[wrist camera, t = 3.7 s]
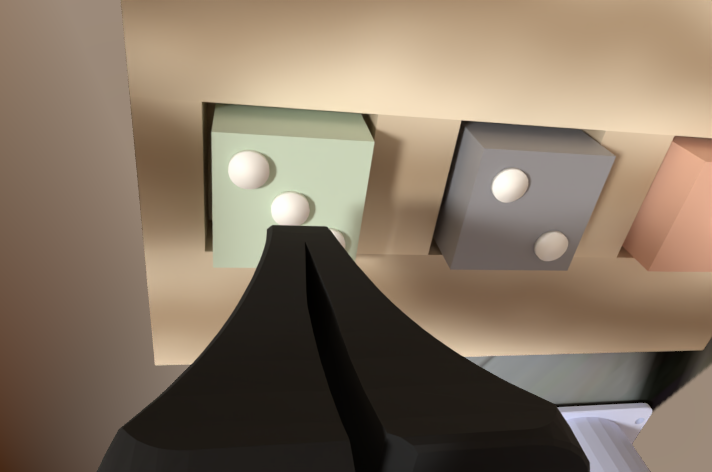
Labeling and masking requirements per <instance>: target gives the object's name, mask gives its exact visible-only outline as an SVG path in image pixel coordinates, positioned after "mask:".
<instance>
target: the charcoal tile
mask: <svg viewBox="0 0 712 472" xmlns="http://www.w3.org/2000/svg"><path fill="white" fill-rule="evenodd" d="M615 158H616V156H615V155H614V154H612V153H611V152H610V151H608V150H607V149H606V148H604V147H603V146H602V145H600V144H599V143H598V142H596V141H595V140H594V139H592V138H591V137H590V136H588V135H587V134H586V133H584V132H583V131H582V130H580V129H570V128H556V127H542V126H528V125H514V124H500V123H486V122H472V121H461V125H460V129H459V133H458V137H457V141H456V145H455V149H454V153H453V157H452V161H451V165H450V169H449V173H448V177H447V181H446V185H445V189H444V193H443V197H442V201H441V205H440V209H439V213H438V217H437V221H436V225H435V229H434V233H433V237H434V239H435V241H436V243H437V245H438V247H439V249H440V251H441V253H442V255H443V257H444V259H445V261H446V262H447V264H448V266H449V268H450V270H547V271H568V268H569V266H570V264H571V261H572V259H573V256H574V254H575V252H576V249H577V247H578V245H579V242H580V240H581V238H582V235H583V233H584V231H585V228H586V226H587V224H588V221H589V219H590V217H591V214H592V212H593V210H594V207H595V205H596V202H597V200H598V198H599V195H600V193H601V191H602V188H603V186H604V184H605V181H606V179H607V177H608V174H609V172H610V170H611V167H612V165H613V163H614V160H615Z"/></svg>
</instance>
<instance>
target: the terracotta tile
mask: <svg viewBox="0 0 712 472" xmlns="http://www.w3.org/2000/svg"><path fill="white" fill-rule="evenodd" d="M622 246H623V247H624V248H625V249H626V250H627V251H628V252H629V253H630V254H631V255H632V256H633V257H634V258H635V259H636V260H637V261H638V262H639V263H640V264H641V265H642V266H643V267H644V268H645V269H646V270H647V271H661V272H712V139H710V138H696V137H682V136H674V138H673V140H672V142H671V145H670V147H669V149H668V151H667V153H666V155H665V157H664V159H663V161H662V163H661V165H660V168H659V170H658V172H657V174H656V176H655V178H654V180H653V182H652V184H651V186H650V188H649V190H648V193H647V195H646V197H645V199H644V201H643V203H642V205H641V207H640V209H639V211H638V213H637V216H636V218H635V220H634V222H633V224H632V226H631V228H630V230H629V232H628V234H627V236H626V239H625V241H624V243H623V245H622Z"/></svg>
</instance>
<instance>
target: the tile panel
mask: <svg viewBox="0 0 712 472" xmlns="http://www.w3.org/2000/svg"><path fill="white" fill-rule="evenodd" d="M121 8H122V18H123V29H124V40H125V50H126V60H127V71H128V82H129V93H130V103H131V114H132V124H133V135H134V144H135V156H136V167H137V177H138V187H139V199H140V210H141V219H142V230H143V242H144V252H145V263H146V273H147V284H148V295H149V305H150V315H151V327H152V337H153V348H154V358H155V365H180V364H181V365H182V364H192V363H193V362H194V361H195V360H196V359H197V358H198V356H199V355H200V354H201V353H202V352H203V351H204V350H205V348H206V347H207V346H208V345H209V343H210V342H211V341H212V340H213V338H214V337H215V336H216V335H217V333H218V332H219V331H220V329H221V328H222V327H223V325H224V324H225V322H226V321H227V320H228V318H229V317H230V315H231V314H232V312H233V311H234V309H235V307H236V306H237V304H238V303H239V301H240V299H241V297H242V295H243V294H244V292H245V290H246V288H247V286H248V285H249V283H250V281H251V279H252V277H253V275H254V272H255V270H256V268H213V223H212V137H211V132H212V125H213V118H214V111H215V105H216V103H220V104H234V105H248V106H262V107H276V108H290V109H304V110H318V111H332V112H346V113H360V114H361V115H362V117H363V119H364V121H365V123H366V125H367V127H368V129H369V131H370V133H371V135H372V137H373V140H374V148H373V155H372V161H371V167H370V173H369V179H368V185H367V192H366V198H365V204H364V210H363V216H362V223H361V229H360V235H359V241H358V247H357V253H356V260H355V263H356V264H357V265H358V266H359V267H360V268H361V270H362V271H363V272H364V273H365V274H366V275H367V276H368V278H369V279H370V280H371V281H372V282H373V283H374V284H375V285H376V286H377V288H378V289H379V290H380V291H381V292H382V293H383V294H384V295H385V296H386V297H387V298H388V299H389V300H390V301H391V302H392V303H393V304H394V305H396V306H397V307H398V308H399V309H400V310H401V311H402V312H403V313H405V314H406V315H407V316H408V317H409V318H411V319H412V320H413V321H414V322H416V323H417V324H418V325H419V326H420V327H422V328H423V329H424V330H425V331H427V332H428V333H429V334H431V335H432V336H433V337H435V338H436V339H438V340H439V341H441V342H442V343H444V344H445V345H446V346H448V347H449V348H451V349H452V350H454V351H455V352H457V353H458V354H460V355H461V356H463V357H472V356H508V355H544V354H580V353H616V352H652V351H688V350H703V349H704V348H705V346H706V345H707V343H708V342H709V340H710V339H711V337H712V272H661V271H647V270H646V269H645V268H644V267H643V266H642V265H641V264H640V263H639V262H638V261H637V260H636V259H635V258H634V257H633V256H632V255H631V254H630V253H629V252H628V251H627V250H626V249H625V248H624V247H623V246H622V245H623V243H624V241H625V239H626V236H627V234H628V232H629V230H630V228H631V226H632V224H633V222H634V220H635V218H636V216H637V213H638V211H639V209H640V207H641V205H642V203H643V201H644V199H645V197H646V195H647V193H648V190H649V188H650V186H651V184H652V182H653V180H654V178H655V176H656V174H657V172H658V170H659V168H660V165H661V163H662V161H663V159H664V157H665V155H666V153H667V151H668V149H669V147H670V145H671V142H672V140H673V138H674V136H682V137H696V138H710V139H712V0H121ZM461 121H472V122H486V123H500V124H514V125H528V126H542V127H556V128H570V129H580V130H582V131H583V132H584V133H586V134H587V135H588V136H590V137H591V138H592V139H594V140H595V141H596V142H598V143H599V144H600V145H602V146H603V147H604V148H606V149H607V150H608V151H610V152H611V153H612V154H614V155H615V156H616V158H615V160H614V163H613V165H612V167H611V170H610V172H609V174H608V177H607V179H606V181H605V184H604V186H603V188H602V191H601V193H600V195H599V198H598V200H597V202H596V205H595V207H594V210H593V212H592V214H591V217H590V219H589V221H588V224H587V226H586V228H585V231H584V233H583V235H582V238H581V240H580V242H579V245H578V247H577V249H576V252H575V254H574V256H573V259H572V261H571V264H570V266H569V268H568V271H547V270H450V268H449V266H448V264H447V262H446V261H445V259H444V257H443V255H442V253H441V251H440V249H439V247H438V245H437V243H436V241H435V239H434V237H433V233H434V229H435V225H436V221H437V217H438V213H439V209H440V205H441V201H442V197H443V193H444V189H445V185H446V181H447V177H448V173H449V169H450V165H451V161H452V157H453V153H454V149H455V145H456V141H457V137H458V133H459V129H460V125H461Z"/></svg>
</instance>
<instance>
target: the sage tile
mask: <svg viewBox="0 0 712 472" xmlns="http://www.w3.org/2000/svg"><path fill="white" fill-rule="evenodd" d="M211 137H212V223H213V268H257V265H258V263H259V261H260V258H261V256H262V253H263V250H264V246H265V243H266V234H267V229H268V228H269V227H270V226H272V225H294V226H327V227H328V228H329V229H330V230H331V231H332V233H333V234H334V235H335V237H336V238H337V240H338V241H339V242H340V243H341V245H342V246H343V247H344V249H345V250H346V251H347V253H348V254H349V255H350V256H351V258H352V259H353V260H354V261H355V260H356V253H357V247H358V241H359V235H360V229H361V223H362V216H363V210H364V204H365V198H366V192H367V185H368V179H369V173H370V167H371V161H372V155H373V148H374V140H373V137H372V135H371V133H370V131H369V129H368V127H367V125H366V123H365V121H364V119H363V117H362V115H361V114H360V113H346V112H332V111H318V110H304V109H290V108H276V107H262V106H248V105H234V104H220V103H216V105H215V111H214V118H213V125H212V132H211Z"/></svg>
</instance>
